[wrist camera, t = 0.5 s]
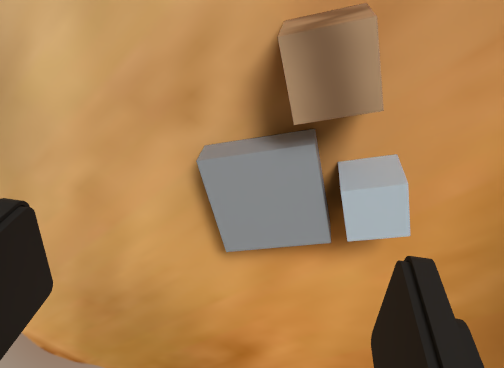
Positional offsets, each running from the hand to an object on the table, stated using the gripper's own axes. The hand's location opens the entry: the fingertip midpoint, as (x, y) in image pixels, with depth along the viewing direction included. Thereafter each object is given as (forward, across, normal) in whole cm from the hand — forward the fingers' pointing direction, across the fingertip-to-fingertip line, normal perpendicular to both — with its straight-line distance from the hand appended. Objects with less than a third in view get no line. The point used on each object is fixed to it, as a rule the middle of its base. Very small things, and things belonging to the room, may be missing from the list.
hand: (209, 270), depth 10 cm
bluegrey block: (+25, -9, +11) cm, 29 cm away
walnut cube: (+25, -4, 0) cm, 25 cm away
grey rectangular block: (+25, 0, +12) cm, 28 cm away
